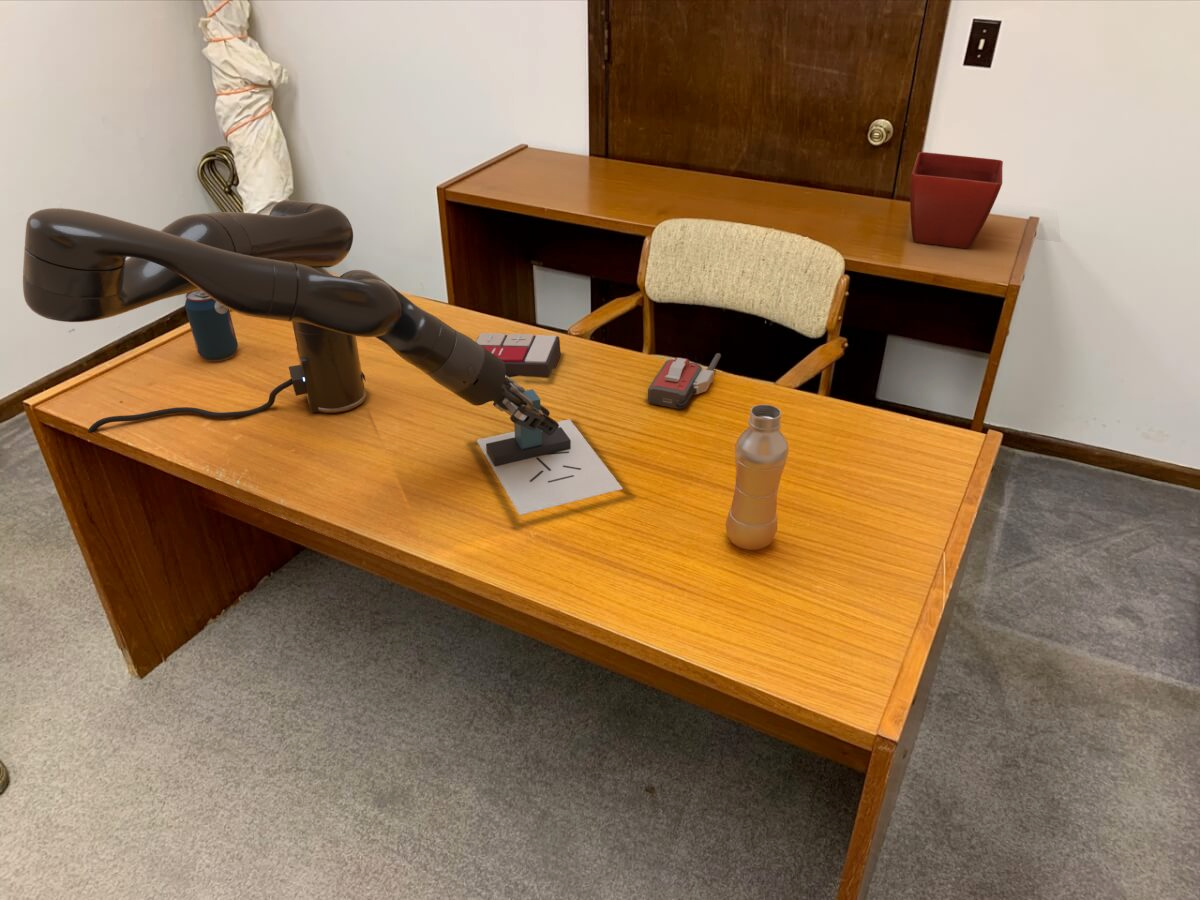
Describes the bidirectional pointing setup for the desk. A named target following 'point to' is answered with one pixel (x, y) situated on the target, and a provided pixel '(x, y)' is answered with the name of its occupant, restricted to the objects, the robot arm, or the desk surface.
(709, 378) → the walkie-talkie
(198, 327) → the soda can
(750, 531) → the plastic bottle
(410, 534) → the desk surface
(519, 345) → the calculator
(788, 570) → the desk surface
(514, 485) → the whiteboard
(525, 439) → the eraser
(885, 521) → the desk surface
